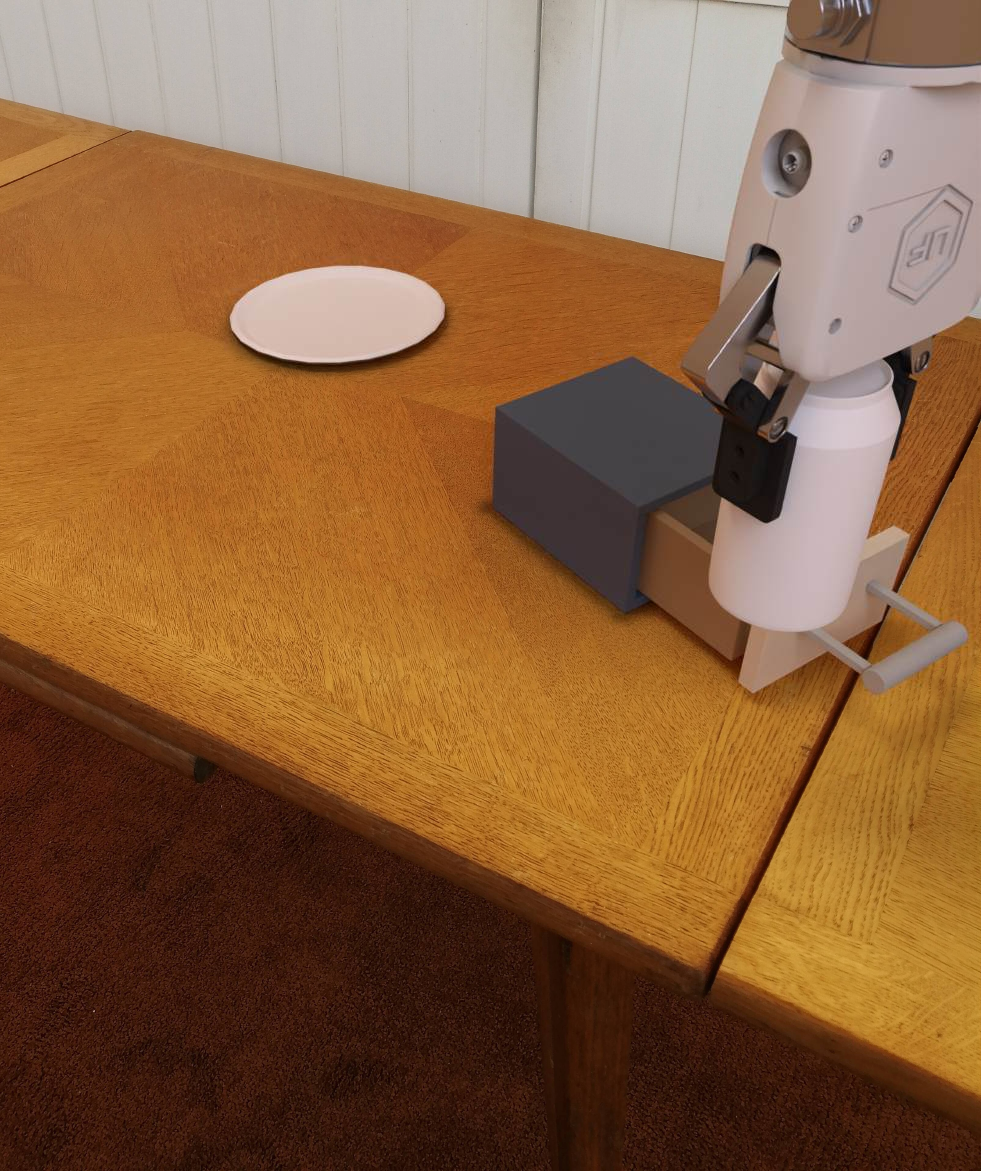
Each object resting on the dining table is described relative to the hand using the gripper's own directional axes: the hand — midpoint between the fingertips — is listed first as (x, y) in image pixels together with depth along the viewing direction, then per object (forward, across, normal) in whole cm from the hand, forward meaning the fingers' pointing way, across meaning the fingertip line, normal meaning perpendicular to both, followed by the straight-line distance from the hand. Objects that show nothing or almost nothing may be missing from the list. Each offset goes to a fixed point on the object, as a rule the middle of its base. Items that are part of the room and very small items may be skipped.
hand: (803, 473), depth 46 cm
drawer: (+20, +12, +8) cm, 25 cm away
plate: (+21, +13, +63) cm, 67 cm away
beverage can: (+7, 0, 0) cm, 7 cm away
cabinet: (+21, +12, +22) cm, 32 cm away
